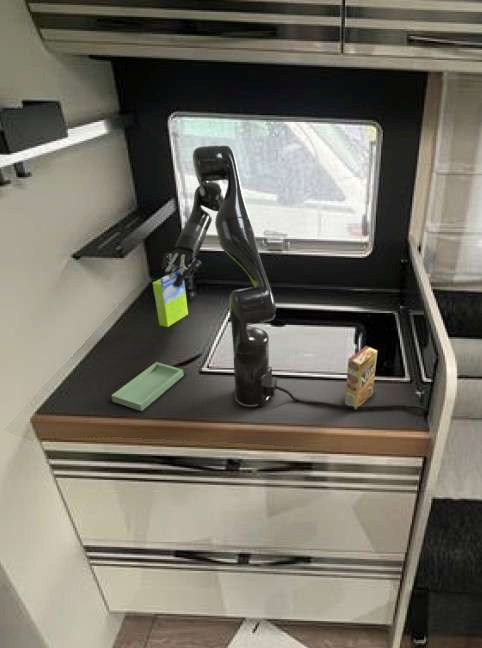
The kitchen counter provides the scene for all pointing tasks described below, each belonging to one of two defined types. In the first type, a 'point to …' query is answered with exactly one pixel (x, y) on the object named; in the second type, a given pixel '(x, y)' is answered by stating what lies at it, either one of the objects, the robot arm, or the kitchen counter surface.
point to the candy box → (360, 377)
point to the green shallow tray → (147, 386)
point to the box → (170, 299)
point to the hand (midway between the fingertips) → (170, 284)
